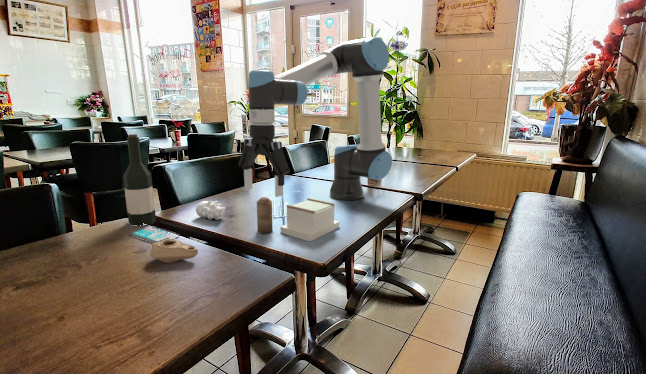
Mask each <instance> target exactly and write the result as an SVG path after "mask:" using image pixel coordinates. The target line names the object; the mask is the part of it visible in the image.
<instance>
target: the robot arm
mask: <svg viewBox="0 0 646 374" xmlns="http://www.w3.org/2000/svg"><path fill="white" fill-rule="evenodd" d="M389 62H390V51H389V48H388V46H387V44H386V43H385V42H384V40H383V39H382V38H380V37H377V36H373V37H372V36H370V37H368V36H367V37H363V38H359V39H353V40H347V41H344V42H342V43H341V42H340V43H339V44H337V45H335V46H333V47H331V48H329V49H326V50H324V51H323V52H321V54H319V56H317V57H316V58H313V59H311V60H309V61H306V62H304V63H302V64H300V65H297V66H295V67H293V68H291V69H288V70H286V71H284V72H282V73H279V74H277V75H275V73H274V72H273V71H272V70H268V69H267V70H265V69H256V70H254V69H253V70H250V72H249V73H248V81H247V82H248V83H247V88H248V109H249V110H248V112H249V113H248V114H249V123H250V125H249V137H250V138H245V139H244V141H243V148H242V151H241V154H240V158H239V160H238V163H237V166H238V167H239V168H240V167H241V168H242V172H243V177H242V178H243V179H244V190H245V191H248V190H252V189H254V188H253V168H252V165H253V163H254V162H255V161H256V159H257V157H259V156H265V158H267V160H268V161H269V163H270V165H271V166H272V168H273V170H274V171H275V173H276V174H275V175H274V197H281V196H284V185H285V175H287V174H290V173H291V170H290V168H289V163H288V161H287V158H286V156H285V153H284V150H283V145H282V141H274V138H275V135H276V133H275V132H276V129H275V125H274V124H275V123H276V121H275V117H276V116H275V105H278V106H279V105H284V106H285V105H286V106H287V105H288V106H291V105H292V106H300V105H303V104H304V103H305V102H306V101H307V99H308V88H307V86H309V85H311V84H313V83H315V82H317V81H319V80H321V79H324V78H325V77H334V76H336V75H338V74H345V73H351V76H352V79H353V80H354V81H355V82H356V93H357V108H358V109H357V110H358V111H357V112H358V127H359V144H348V145H347V144H346V145H337V146H336V147H335V148H334V155H333V161H334V162H333V181H332V183H331V187H330V189H329V197H331V198H332V199H335V200H341V201H355V200H361V199H363V198H364V189H363V186H362V183H361V178H362V177H363V178H366V179H370V180H378V181H379V180H382V179H385V178H386V177H387V175H388V174H389V172H390V170H391V168H392V164H393V157H392V155H391V153H389V151H386V150H387V149H386V144H385V143H384V142H383V141H382V124H381V123H382V121H381V119H382V117H381V95H380V94H381V93H380V91H381V90H380V80H381V78H382V77H383V75H384V70H386V68H387V67H388V65H389Z"/></svg>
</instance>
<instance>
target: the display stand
mask: <svg viewBox="0 0 646 374" xmlns="http://www.w3.org/2000/svg"><path fill="white" fill-rule="evenodd" d="M339 228H340V221H339V220H335V203H333V202H330V201H325V200H319V199H315V198H311V197H310V198H309V197H307V198H306V200H303V201H301V202H298V203H295V204H287V205H286V224H284V225H282V226H280V233H281V234H284V235H287V236H291V237H293V238H297V239H300V240H302V241H306V242H307V241H308V242H311V241H314V240H317V239H318V238H320V237H322V236H324V235H327V234H328V233H330V232H332V231H335V230H337V229H339Z"/></svg>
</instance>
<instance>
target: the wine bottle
mask: <svg viewBox="0 0 646 374" xmlns="http://www.w3.org/2000/svg"><path fill="white" fill-rule="evenodd" d="M127 136H128V137H126V140H127V148H128V149H127V151H128V157H129V164H128V165H127V168H126V170H125V171H124V173H123V176H122V178H123V179H122V180H123V187H124V193H125V194H124V195H125V203H126V211H127V219H128V224H129V223H130V224H131V225H137V226H136V227H144V226H143V223H144V224H147V225H146V226H149V225H153V224H154V223H155V222H157V217H156V208H155V207H156V206H155V197H154V190H153V180H152V179H153V178H152V173H151V172H150V171H149V169H148V168H147V166H146V165H145V164H143V161H142V155H141V145H140V137H139V136H138V134H137V133H135V134H133V133H131V134H128V135H127ZM130 224H129V225H130ZM131 225H130V226H131ZM140 225H141V226H140Z"/></svg>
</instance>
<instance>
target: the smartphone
mask: <svg viewBox="0 0 646 374" xmlns="http://www.w3.org/2000/svg"><path fill="white" fill-rule="evenodd" d="M151 227H152V228H153V229H154V228H155V229H157V231H158V232H160V233H161V232H162V231H163V233H165V232H166V233H165V234H167V233H168V232H170V233H169V234H168V235H170V234H171V233H173V235H174V234H176V235H178V236H181V235H180V234H179V233H176V232H172V231H168V230H166V229H163V228H159V227H157V226H156V227H155V226H151ZM159 229H160V230H159ZM158 232H157V233H158ZM154 233H155V232H154V230H153V231H152V232H151V231H147V230H144V228H141V229H138V230H135V231H131V232H129V233H128V236H129V235H131V236H135V237H138V238H141V239H144V240H147V241H150V242H153V243H157V242H161V241H163V240H165V239H169V238H170V237H169V238H168V236H166V235H162V234H160V233H159V234H160V235H159V234H157V233H155V234H154ZM161 235H162V236H161ZM131 236H130V237H131Z"/></svg>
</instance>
